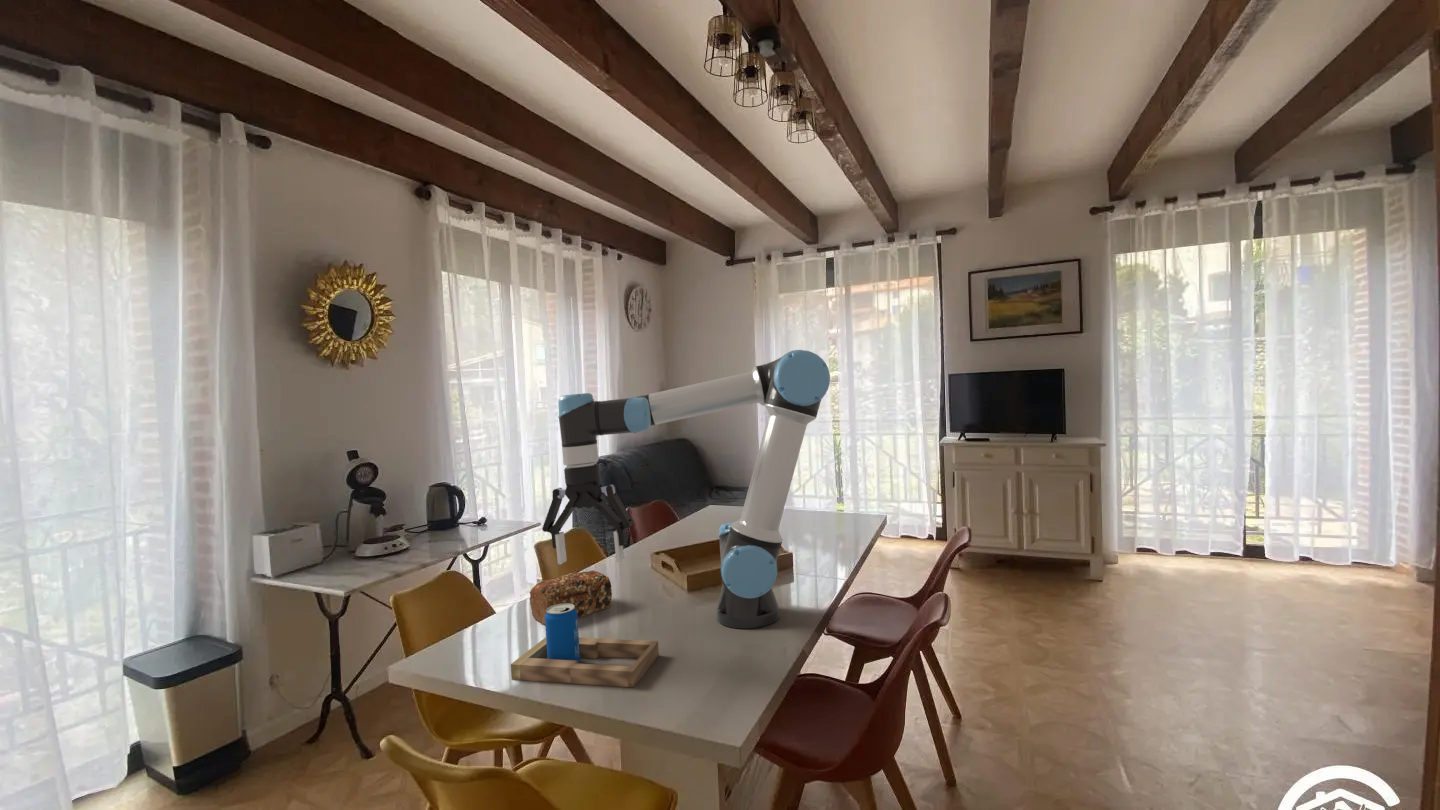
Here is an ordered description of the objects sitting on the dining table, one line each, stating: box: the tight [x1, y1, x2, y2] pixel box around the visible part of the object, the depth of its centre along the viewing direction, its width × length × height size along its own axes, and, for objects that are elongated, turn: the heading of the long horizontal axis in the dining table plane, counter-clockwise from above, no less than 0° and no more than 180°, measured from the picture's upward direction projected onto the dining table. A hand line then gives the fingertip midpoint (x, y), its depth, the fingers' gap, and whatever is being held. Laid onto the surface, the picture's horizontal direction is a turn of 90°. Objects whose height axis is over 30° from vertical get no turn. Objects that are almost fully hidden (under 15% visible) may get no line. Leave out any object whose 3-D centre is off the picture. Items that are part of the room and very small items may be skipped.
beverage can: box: [544, 603, 581, 664], centre depth 125 cm, size 6×6×12 cm
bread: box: [529, 570, 613, 626], centre depth 157 cm, size 19×11×10 cm, turn 130°
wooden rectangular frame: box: [510, 636, 660, 688], centre depth 124 cm, size 26×14×3 cm, turn 76°
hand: (591, 561), depth 132 cm, fingers open, 13 cm apart
